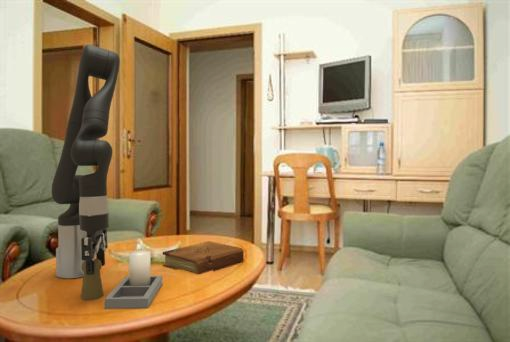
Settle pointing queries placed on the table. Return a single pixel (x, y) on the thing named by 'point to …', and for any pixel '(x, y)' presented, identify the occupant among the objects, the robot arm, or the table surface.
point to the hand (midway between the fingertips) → (95, 269)
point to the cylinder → (139, 268)
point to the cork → (92, 283)
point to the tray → (132, 294)
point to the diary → (203, 257)
